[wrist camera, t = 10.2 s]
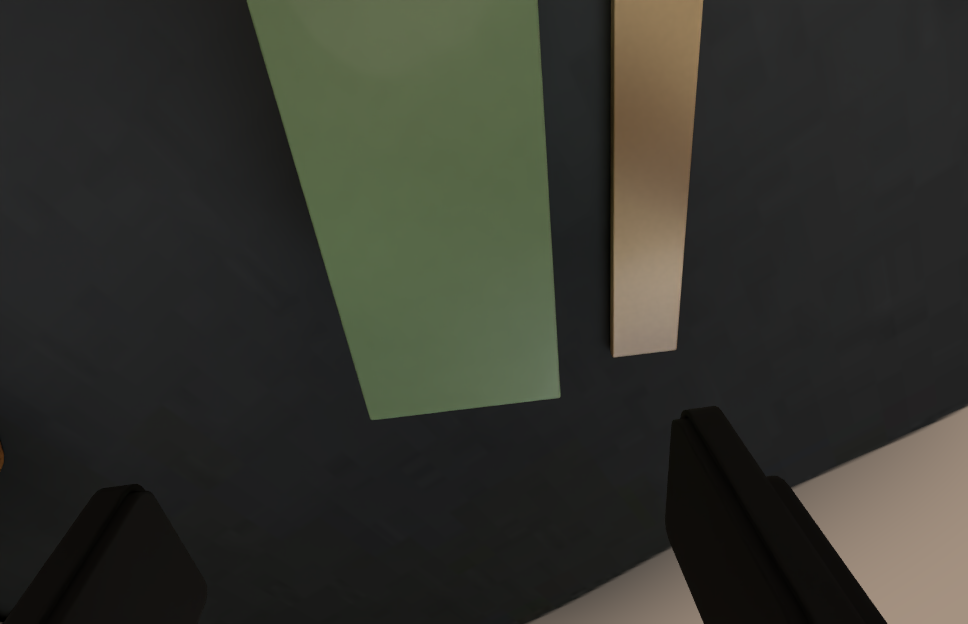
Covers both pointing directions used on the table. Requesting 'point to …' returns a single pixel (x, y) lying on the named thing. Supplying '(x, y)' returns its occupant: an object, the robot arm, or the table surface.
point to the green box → (424, 190)
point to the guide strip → (650, 166)
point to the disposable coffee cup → (1, 457)
